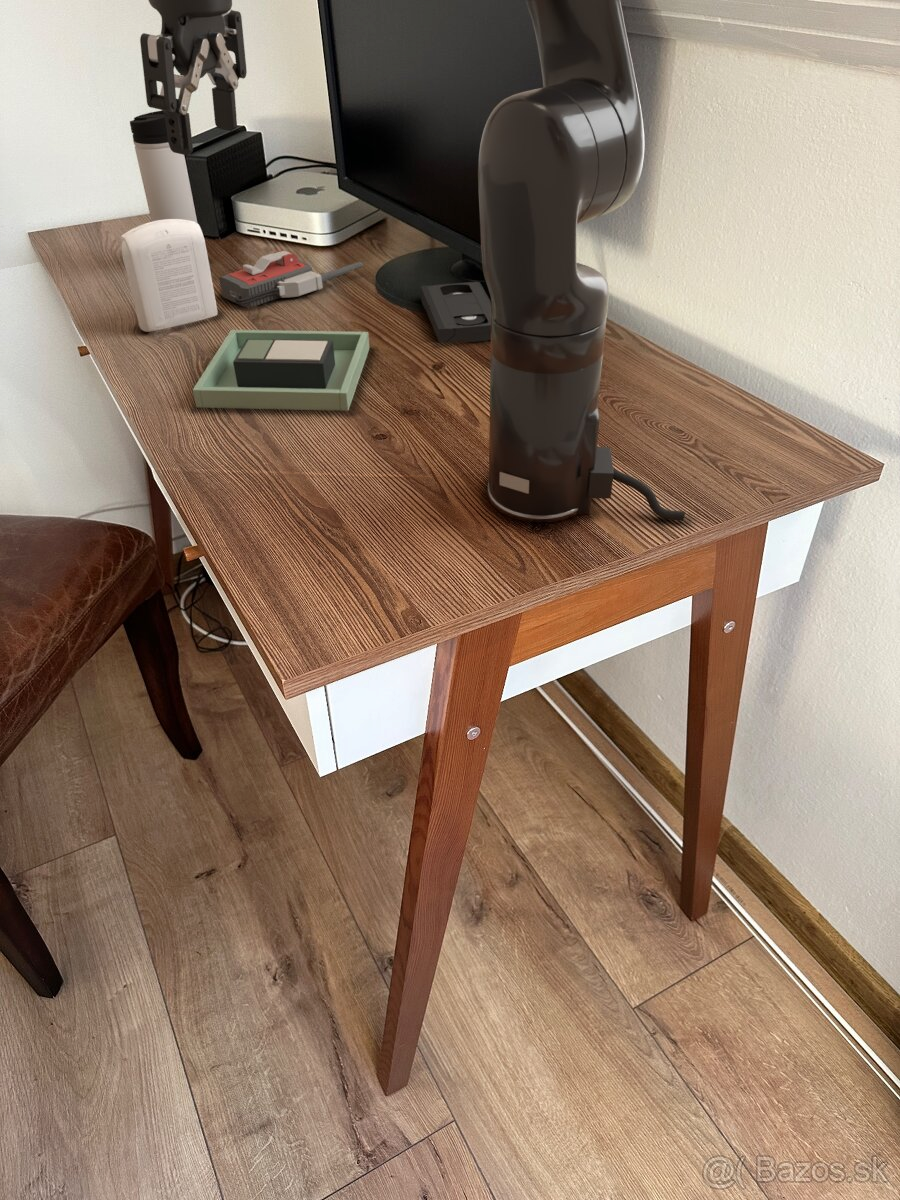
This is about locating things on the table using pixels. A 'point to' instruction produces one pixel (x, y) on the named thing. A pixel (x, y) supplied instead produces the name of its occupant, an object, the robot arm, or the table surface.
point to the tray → (224, 393)
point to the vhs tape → (458, 311)
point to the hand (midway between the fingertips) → (205, 140)
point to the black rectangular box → (284, 363)
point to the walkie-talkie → (275, 279)
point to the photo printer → (168, 273)
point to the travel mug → (161, 170)
